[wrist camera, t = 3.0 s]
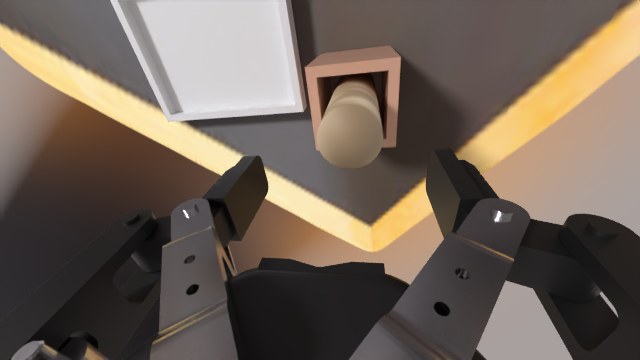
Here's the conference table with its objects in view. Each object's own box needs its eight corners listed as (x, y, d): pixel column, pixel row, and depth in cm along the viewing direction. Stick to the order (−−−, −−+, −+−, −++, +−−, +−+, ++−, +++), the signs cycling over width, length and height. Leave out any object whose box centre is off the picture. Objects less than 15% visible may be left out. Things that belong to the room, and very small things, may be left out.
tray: (283, -50, 22) (276, -55, 20) (306, 106, 29) (303, 111, 27) (119, -15, 25) (101, -18, 23) (177, 116, 33) (168, 121, 31)
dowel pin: (374, 64, 25) (384, 104, 13) (374, 103, 27) (382, 167, 15) (336, 68, 25) (312, 110, 14) (338, 106, 27) (320, 169, 16)
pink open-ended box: (389, 45, 24) (400, 56, 17) (387, 113, 28) (395, 146, 21) (321, 53, 26) (304, 67, 18) (328, 117, 29) (316, 150, 22)
